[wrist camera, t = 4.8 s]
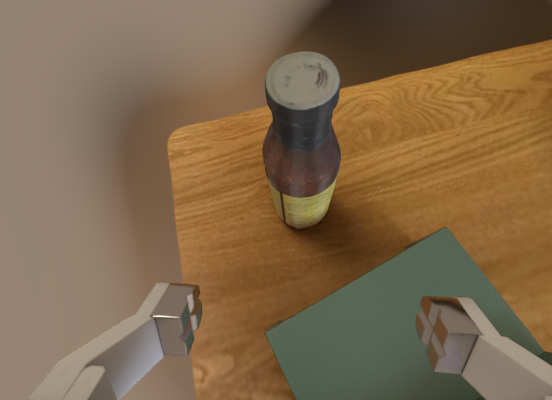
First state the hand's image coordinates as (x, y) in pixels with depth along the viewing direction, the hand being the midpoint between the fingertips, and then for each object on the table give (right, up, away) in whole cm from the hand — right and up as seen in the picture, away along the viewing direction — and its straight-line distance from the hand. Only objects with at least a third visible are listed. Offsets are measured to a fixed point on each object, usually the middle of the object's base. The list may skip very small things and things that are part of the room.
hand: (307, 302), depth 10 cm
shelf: (+9, -10, +18) cm, 22 cm away
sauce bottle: (+2, +3, +23) cm, 23 cm away
